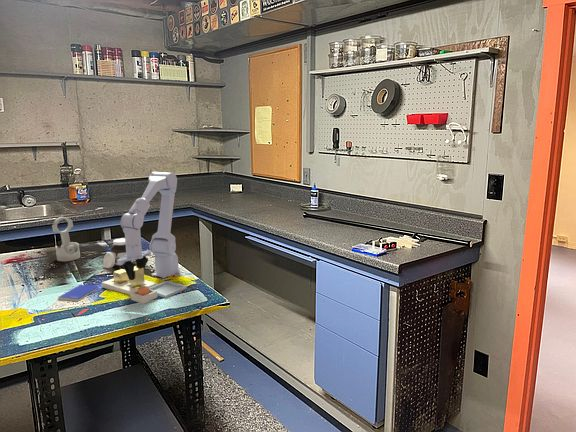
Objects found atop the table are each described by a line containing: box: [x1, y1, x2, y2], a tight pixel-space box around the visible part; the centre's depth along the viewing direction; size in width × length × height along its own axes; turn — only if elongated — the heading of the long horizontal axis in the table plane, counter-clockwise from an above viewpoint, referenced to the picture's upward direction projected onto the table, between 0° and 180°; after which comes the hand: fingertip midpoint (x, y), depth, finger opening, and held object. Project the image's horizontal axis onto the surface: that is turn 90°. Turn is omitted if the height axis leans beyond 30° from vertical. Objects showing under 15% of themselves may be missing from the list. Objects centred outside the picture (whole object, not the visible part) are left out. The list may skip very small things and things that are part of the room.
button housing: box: [130, 289, 158, 305], centre depth 160 cm, size 7×7×3 cm
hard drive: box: [57, 284, 99, 302], centre depth 166 cm, size 2×8×12 cm
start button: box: [137, 286, 150, 296], centre depth 160 cm, size 4×4×3 cm
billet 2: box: [129, 265, 145, 286], centre depth 168 cm, size 4×4×6 cm
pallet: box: [101, 277, 158, 296], centre depth 172 cm, size 11×19×2 cm, turn 59°
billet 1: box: [112, 268, 129, 284], centre depth 174 cm, size 4×4×6 cm
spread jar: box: [102, 237, 135, 269], centre depth 196 cm, size 12×11×12 cm
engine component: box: [51, 216, 81, 262], centre depth 205 cm, size 11×20×10 cm
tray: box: [149, 280, 188, 299], centre depth 168 cm, size 11×11×2 cm
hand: (136, 277), depth 168 cm, fingers closed on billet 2, 4 cm apart
